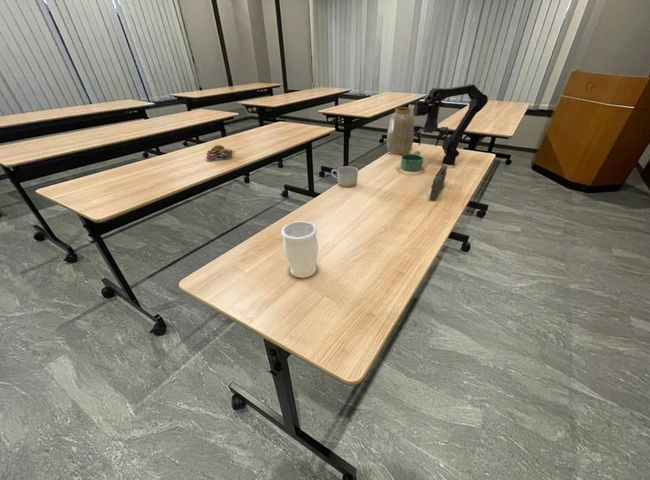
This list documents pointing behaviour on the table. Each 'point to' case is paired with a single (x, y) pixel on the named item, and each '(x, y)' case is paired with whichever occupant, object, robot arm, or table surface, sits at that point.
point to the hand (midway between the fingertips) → (427, 145)
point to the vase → (400, 132)
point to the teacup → (346, 175)
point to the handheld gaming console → (438, 182)
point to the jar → (300, 247)
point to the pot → (412, 162)
